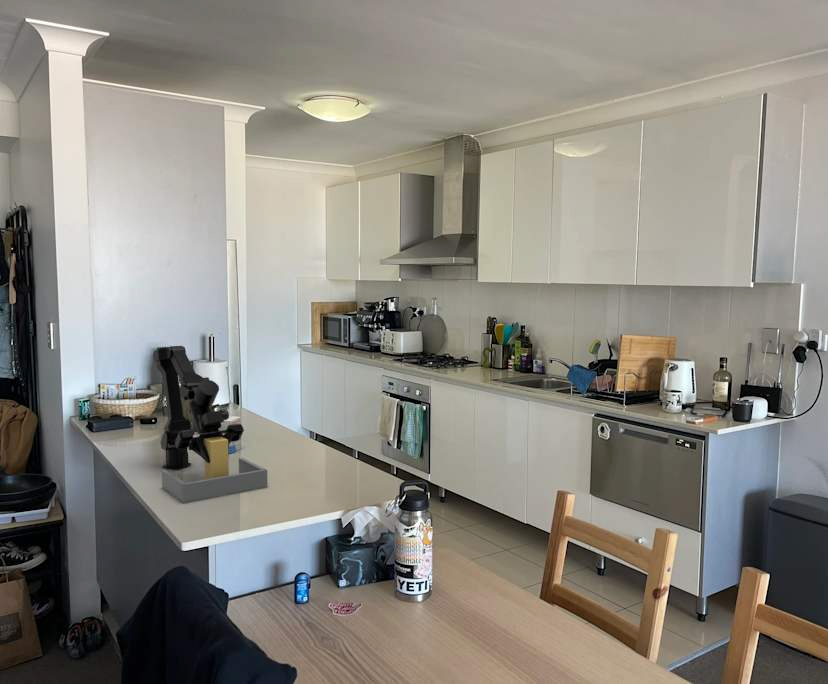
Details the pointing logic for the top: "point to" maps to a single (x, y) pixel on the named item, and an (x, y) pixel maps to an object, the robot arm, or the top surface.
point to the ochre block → (216, 457)
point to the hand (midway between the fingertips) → (218, 460)
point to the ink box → (231, 420)
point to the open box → (216, 483)
